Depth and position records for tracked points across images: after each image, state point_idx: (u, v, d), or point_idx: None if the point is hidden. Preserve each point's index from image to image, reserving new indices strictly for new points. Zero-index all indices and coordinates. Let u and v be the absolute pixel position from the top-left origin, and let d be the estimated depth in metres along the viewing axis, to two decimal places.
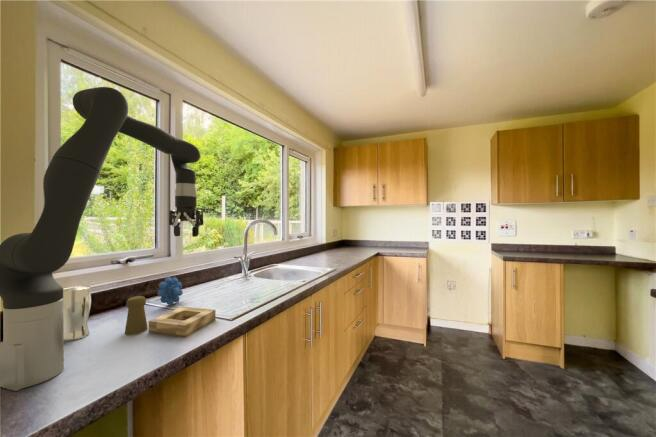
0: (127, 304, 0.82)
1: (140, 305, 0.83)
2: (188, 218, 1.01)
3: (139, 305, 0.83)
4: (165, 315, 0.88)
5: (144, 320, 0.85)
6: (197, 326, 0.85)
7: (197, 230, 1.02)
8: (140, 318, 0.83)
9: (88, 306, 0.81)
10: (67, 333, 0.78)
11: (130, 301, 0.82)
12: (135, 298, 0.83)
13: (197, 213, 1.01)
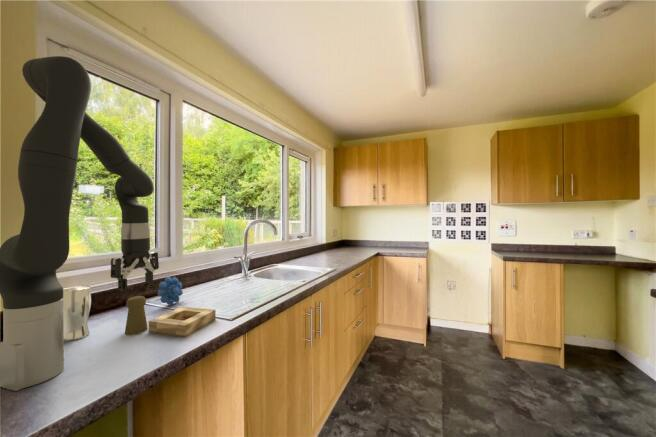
0: (127, 304, 0.82)
1: (140, 305, 0.83)
2: (148, 263, 0.87)
3: (139, 305, 0.83)
4: (165, 315, 0.88)
5: (144, 320, 0.85)
6: (197, 326, 0.85)
7: None
8: (140, 318, 0.83)
9: (88, 306, 0.81)
10: (67, 333, 0.78)
11: (130, 301, 0.82)
12: (135, 298, 0.83)
13: (157, 255, 0.90)
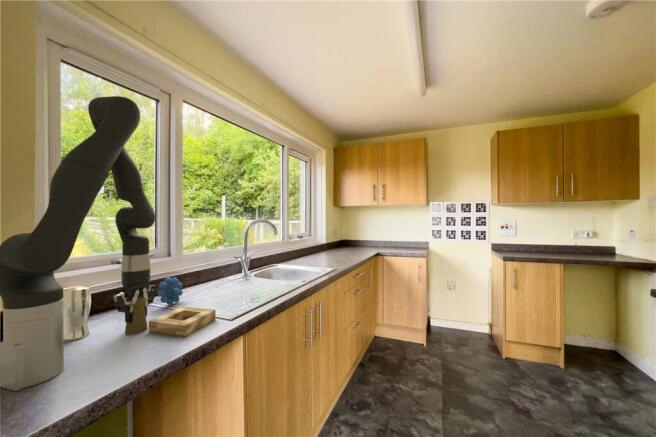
0: (127, 304, 0.82)
1: (140, 305, 0.83)
2: (145, 296, 0.86)
3: (139, 305, 0.83)
4: (165, 315, 0.88)
5: (144, 320, 0.85)
6: (197, 326, 0.85)
7: None
8: (140, 318, 0.83)
9: (88, 306, 0.81)
10: (67, 333, 0.78)
11: (130, 301, 0.82)
12: None
13: (155, 289, 0.90)
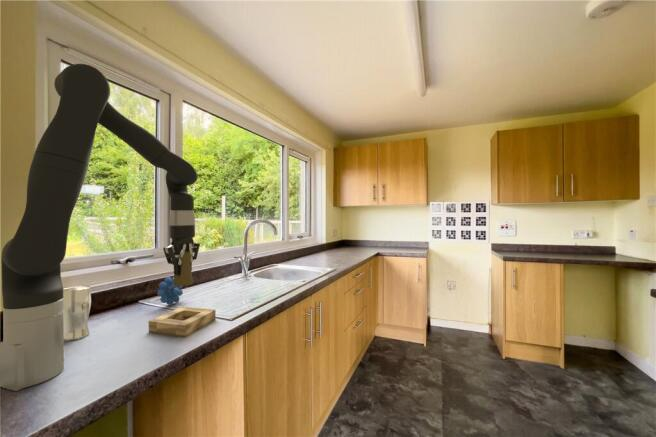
0: None
1: (187, 259, 0.87)
2: (191, 251, 0.90)
3: (186, 259, 0.87)
4: (165, 315, 0.88)
5: (190, 274, 0.89)
6: (197, 326, 0.85)
7: None
8: (187, 271, 0.87)
9: (88, 306, 0.81)
10: (67, 333, 0.78)
11: (178, 254, 0.86)
12: None
13: (198, 246, 0.94)
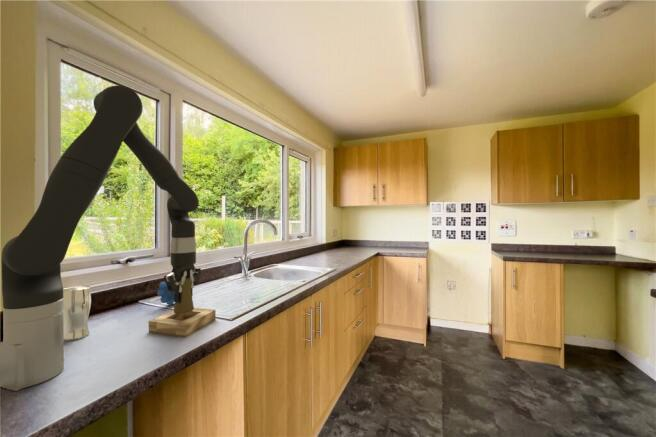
0: None
1: (188, 286, 0.87)
2: (191, 277, 0.89)
3: (187, 286, 0.87)
4: (165, 315, 0.88)
5: (191, 300, 0.88)
6: (197, 326, 0.85)
7: None
8: (188, 298, 0.87)
9: (88, 306, 0.81)
10: (67, 333, 0.78)
11: (179, 282, 0.86)
12: None
13: (199, 272, 0.94)
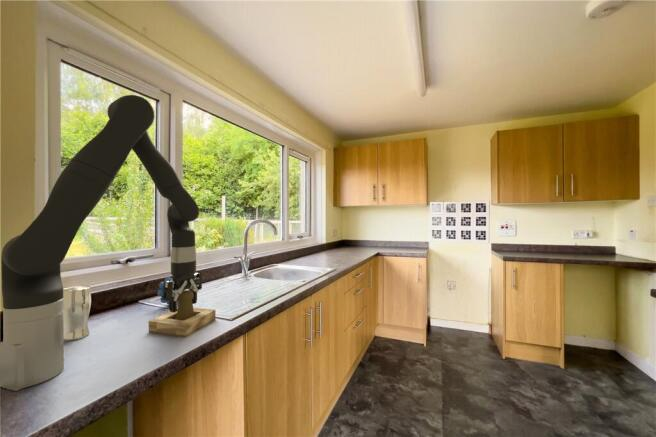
0: (178, 298, 0.87)
1: (190, 299, 0.88)
2: (193, 284, 0.90)
3: (189, 299, 0.88)
4: (165, 315, 0.88)
5: (193, 313, 0.89)
6: (197, 326, 0.85)
7: None
8: (190, 311, 0.88)
9: (88, 306, 0.81)
10: (67, 333, 0.78)
11: (181, 295, 0.87)
12: (185, 292, 0.88)
13: (200, 276, 0.94)
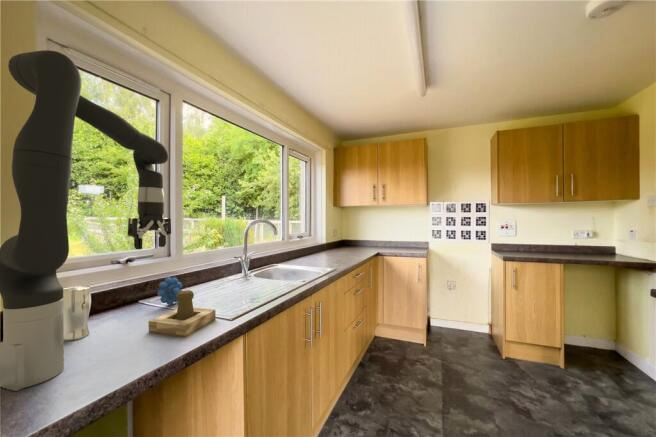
0: (178, 298, 0.87)
1: (190, 299, 0.88)
2: (161, 227, 0.92)
3: (189, 299, 0.88)
4: (165, 315, 0.88)
5: (193, 313, 0.89)
6: (197, 326, 0.85)
7: None
8: (190, 311, 0.88)
9: (88, 306, 0.81)
10: (67, 333, 0.78)
11: (181, 295, 0.87)
12: (185, 292, 0.88)
13: (169, 221, 0.96)
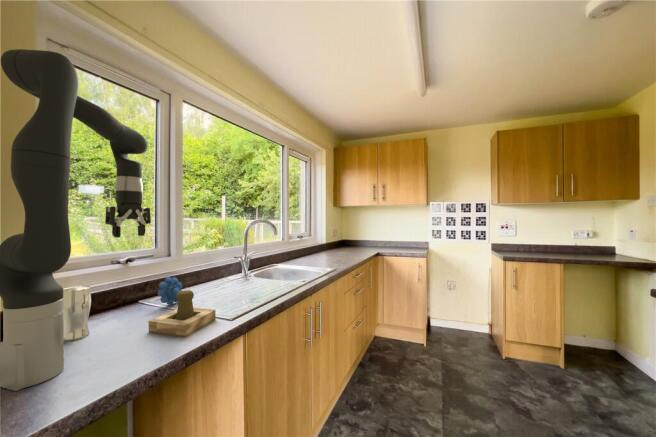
0: (178, 298, 0.87)
1: (190, 299, 0.88)
2: (140, 216, 0.94)
3: (189, 299, 0.87)
4: (165, 315, 0.88)
5: (193, 313, 0.89)
6: (197, 326, 0.85)
7: None
8: (190, 311, 0.88)
9: (88, 306, 0.81)
10: (67, 333, 0.78)
11: (181, 295, 0.87)
12: (185, 292, 0.88)
13: (149, 211, 0.97)
